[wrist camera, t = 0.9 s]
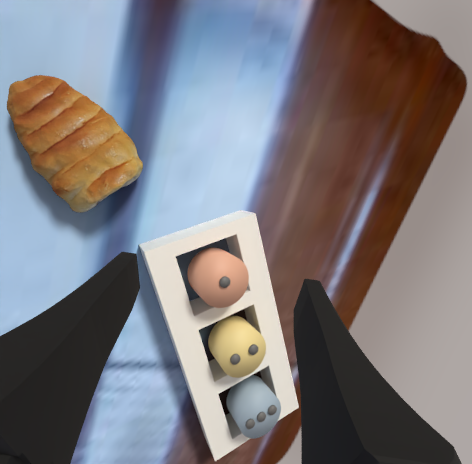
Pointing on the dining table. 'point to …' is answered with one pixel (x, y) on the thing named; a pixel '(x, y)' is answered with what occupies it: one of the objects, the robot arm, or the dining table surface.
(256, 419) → the slate button
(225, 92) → the dining table surface
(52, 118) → the pastry
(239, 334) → the mustard button
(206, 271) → the terracotta button
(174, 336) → the button panel
